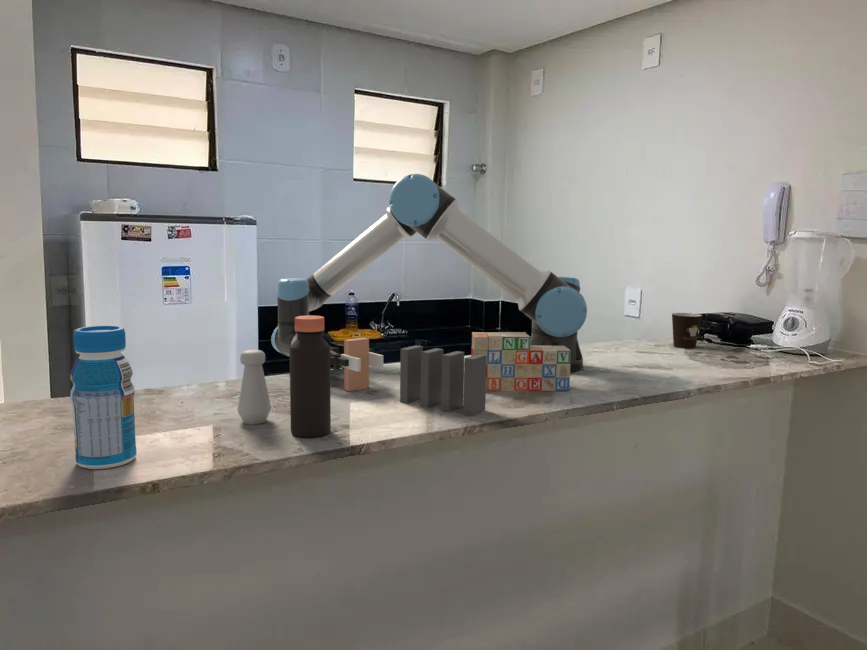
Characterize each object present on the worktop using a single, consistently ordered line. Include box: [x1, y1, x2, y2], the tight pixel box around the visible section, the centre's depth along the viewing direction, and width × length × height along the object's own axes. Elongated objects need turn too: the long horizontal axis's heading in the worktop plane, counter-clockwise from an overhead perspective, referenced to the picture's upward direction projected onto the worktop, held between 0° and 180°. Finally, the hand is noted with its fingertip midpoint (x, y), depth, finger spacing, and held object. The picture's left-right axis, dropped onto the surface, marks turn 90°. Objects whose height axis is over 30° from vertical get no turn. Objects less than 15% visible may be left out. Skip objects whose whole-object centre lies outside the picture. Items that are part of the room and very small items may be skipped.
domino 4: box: [462, 354, 487, 417], centre depth 128 cm, size 2×5×11 cm, turn 146°
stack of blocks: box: [470, 331, 571, 392], centre depth 149 cm, size 21×6×12 cm, turn 91°
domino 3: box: [440, 350, 465, 413], centre depth 131 cm, size 2×5×11 cm, turn 146°
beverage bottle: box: [69, 325, 138, 470], centre depth 98 cm, size 8×8×20 cm
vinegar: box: [289, 314, 332, 439], centre depth 113 cm, size 7×7×20 cm
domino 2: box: [420, 347, 445, 408], centre depth 133 cm, size 2×5×11 cm, turn 145°
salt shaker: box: [237, 349, 272, 426], centre depth 120 cm, size 6×6×13 cm
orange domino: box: [343, 337, 370, 392], centre depth 145 cm, size 2×5×11 cm, turn 131°
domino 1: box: [399, 345, 424, 404], centre depth 136 cm, size 2×5×11 cm, turn 146°
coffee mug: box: [671, 312, 710, 350], centre depth 204 cm, size 12×9×10 cm
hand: (370, 363), depth 141 cm, fingers closed on orange domino, 5 cm apart
